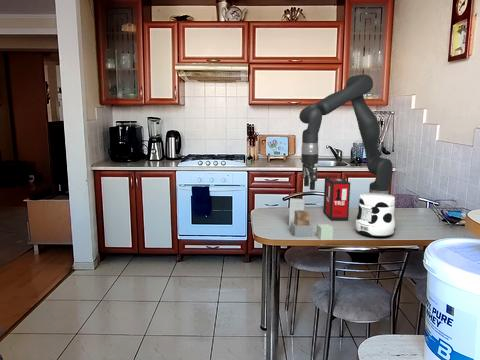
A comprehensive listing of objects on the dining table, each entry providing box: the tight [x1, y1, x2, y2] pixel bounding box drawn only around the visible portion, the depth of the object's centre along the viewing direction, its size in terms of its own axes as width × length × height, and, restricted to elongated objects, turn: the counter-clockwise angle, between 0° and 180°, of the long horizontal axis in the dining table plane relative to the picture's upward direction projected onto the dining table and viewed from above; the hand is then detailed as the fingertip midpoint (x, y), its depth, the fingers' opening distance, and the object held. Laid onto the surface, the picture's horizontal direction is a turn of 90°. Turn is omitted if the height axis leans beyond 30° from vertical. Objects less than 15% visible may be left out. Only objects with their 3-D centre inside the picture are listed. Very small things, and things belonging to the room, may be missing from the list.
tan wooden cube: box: [294, 209, 311, 225], centre depth 180 cm, size 6×6×6 cm
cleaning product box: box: [322, 176, 351, 222], centre depth 210 cm, size 16×9×20 cm, turn 2°
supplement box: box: [288, 198, 306, 227], centre depth 195 cm, size 7×7×13 cm
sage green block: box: [316, 223, 334, 241], centre depth 176 cm, size 6×6×6 cm
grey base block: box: [289, 222, 314, 238], centre depth 181 cm, size 8×8×5 cm
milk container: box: [355, 192, 396, 238], centre depth 181 cm, size 17×17×18 cm
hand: (309, 188), depth 181 cm, fingers open, 8 cm apart
